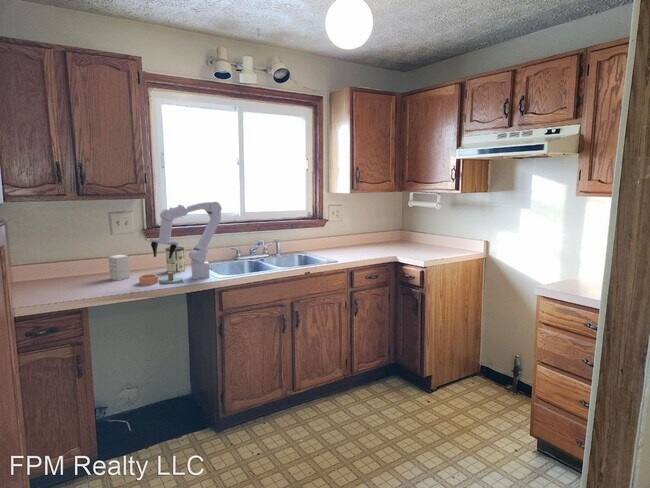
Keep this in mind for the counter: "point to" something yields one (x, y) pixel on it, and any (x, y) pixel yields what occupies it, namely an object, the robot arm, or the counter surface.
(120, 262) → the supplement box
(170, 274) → the lid
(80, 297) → the counter surface
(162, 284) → the mat
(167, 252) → the coffee can
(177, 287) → the counter surface
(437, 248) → the counter surface
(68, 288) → the counter surface
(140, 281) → the bowl
